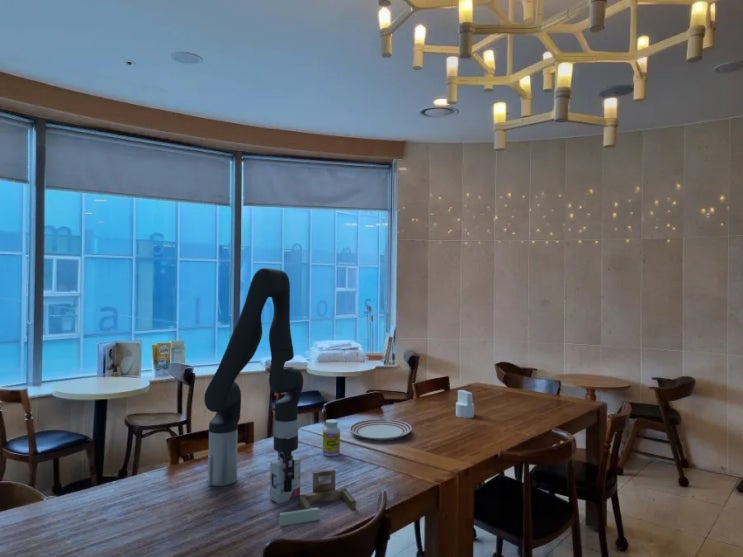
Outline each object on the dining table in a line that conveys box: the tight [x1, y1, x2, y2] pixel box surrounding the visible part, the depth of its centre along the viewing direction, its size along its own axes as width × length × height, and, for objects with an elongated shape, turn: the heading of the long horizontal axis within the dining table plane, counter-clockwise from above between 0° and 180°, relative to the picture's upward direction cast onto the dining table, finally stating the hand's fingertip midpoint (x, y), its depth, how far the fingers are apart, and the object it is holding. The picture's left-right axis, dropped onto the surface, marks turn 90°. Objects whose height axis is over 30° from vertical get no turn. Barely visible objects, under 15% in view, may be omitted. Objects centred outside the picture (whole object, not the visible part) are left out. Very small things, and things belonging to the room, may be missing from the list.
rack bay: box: [298, 469, 357, 511], centre depth 156 cm, size 15×12×8 cm
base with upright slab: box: [455, 389, 475, 419], centre depth 260 cm, size 9×9×12 cm
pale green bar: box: [278, 507, 320, 527], centre depth 144 cm, size 11×1×3 cm, turn 111°
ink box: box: [269, 455, 302, 505], centre depth 160 cm, size 9×5×12 cm, turn 137°
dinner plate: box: [349, 418, 412, 441], centre depth 228 cm, size 27×27×3 cm
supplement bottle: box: [322, 418, 341, 457], centre depth 201 cm, size 7×7×13 cm
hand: (285, 486), depth 160 cm, fingers closed on ink box, 6 cm apart
